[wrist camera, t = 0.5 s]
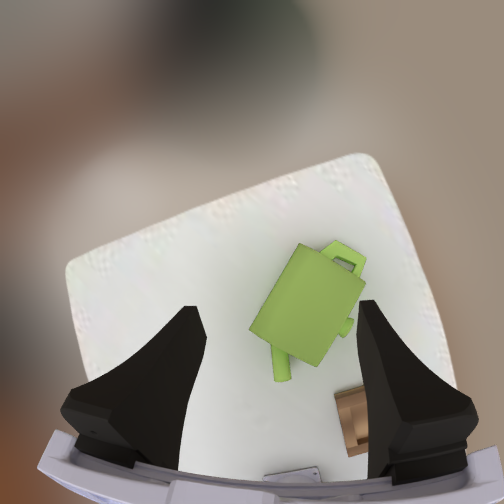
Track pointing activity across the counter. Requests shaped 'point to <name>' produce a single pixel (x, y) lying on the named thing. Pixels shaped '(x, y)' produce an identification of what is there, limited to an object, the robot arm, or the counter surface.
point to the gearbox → (309, 306)
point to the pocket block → (354, 419)
